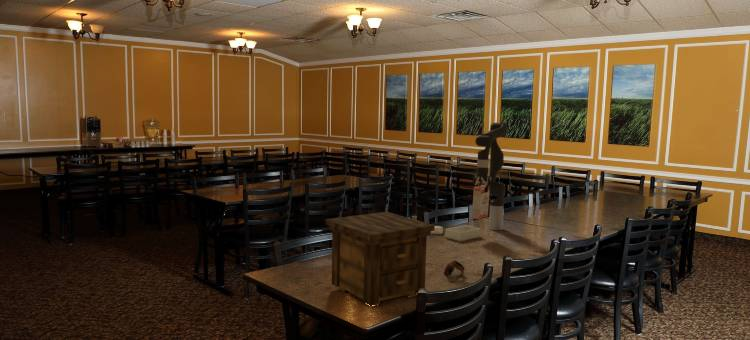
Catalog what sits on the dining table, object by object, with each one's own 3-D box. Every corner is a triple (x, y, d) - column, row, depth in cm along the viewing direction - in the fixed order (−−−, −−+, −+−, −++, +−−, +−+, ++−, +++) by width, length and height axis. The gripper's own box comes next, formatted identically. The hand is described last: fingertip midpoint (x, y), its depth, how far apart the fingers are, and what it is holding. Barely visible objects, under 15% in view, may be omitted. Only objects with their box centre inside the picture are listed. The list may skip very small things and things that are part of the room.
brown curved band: (446, 271, 274) (454, 258, 272) (460, 282, 269) (469, 269, 268) (437, 271, 263) (446, 258, 262) (451, 283, 259) (461, 269, 257)
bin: (445, 237, 344) (445, 228, 343) (466, 233, 357) (466, 225, 356) (459, 241, 334) (460, 232, 334) (480, 237, 347) (481, 228, 347)
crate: (385, 275, 263) (386, 211, 259) (432, 296, 235) (434, 225, 231) (324, 288, 242) (325, 219, 239) (368, 313, 214) (369, 235, 210)
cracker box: (480, 220, 335) (481, 187, 332) (471, 219, 338) (473, 186, 336) (488, 216, 346) (490, 185, 344) (480, 215, 350) (481, 184, 347)
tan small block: (436, 231, 363) (436, 225, 362) (445, 233, 356) (445, 227, 356) (428, 232, 358) (428, 226, 357) (436, 234, 351) (437, 229, 351)
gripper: (495, 167, 336) (494, 192, 337) (477, 165, 346) (476, 189, 348) (488, 167, 331) (486, 193, 333) (470, 165, 342) (469, 190, 343)
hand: (481, 191), depth 340 cm, fingers closed on cracker box, 6 cm apart
